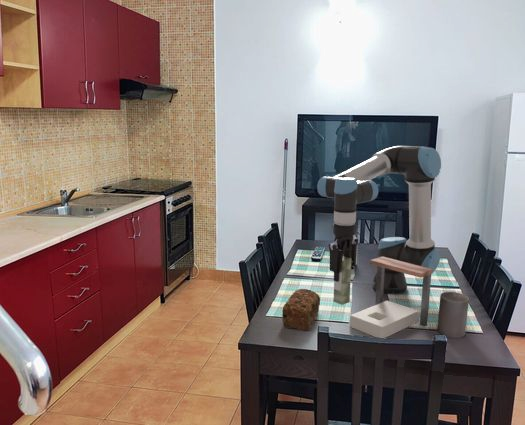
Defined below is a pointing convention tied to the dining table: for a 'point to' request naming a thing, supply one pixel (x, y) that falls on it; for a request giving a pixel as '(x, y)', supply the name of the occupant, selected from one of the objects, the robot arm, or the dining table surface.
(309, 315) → the bread
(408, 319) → the socket stand
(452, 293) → the pillar candle
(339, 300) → the peg
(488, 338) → the dining table surface
